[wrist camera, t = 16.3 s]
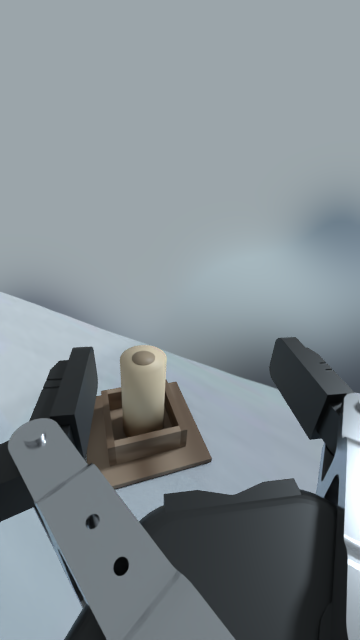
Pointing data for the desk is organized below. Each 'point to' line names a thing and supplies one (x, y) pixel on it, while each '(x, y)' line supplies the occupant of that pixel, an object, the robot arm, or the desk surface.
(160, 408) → the paper roll
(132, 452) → the roll stand
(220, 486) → the desk surface
